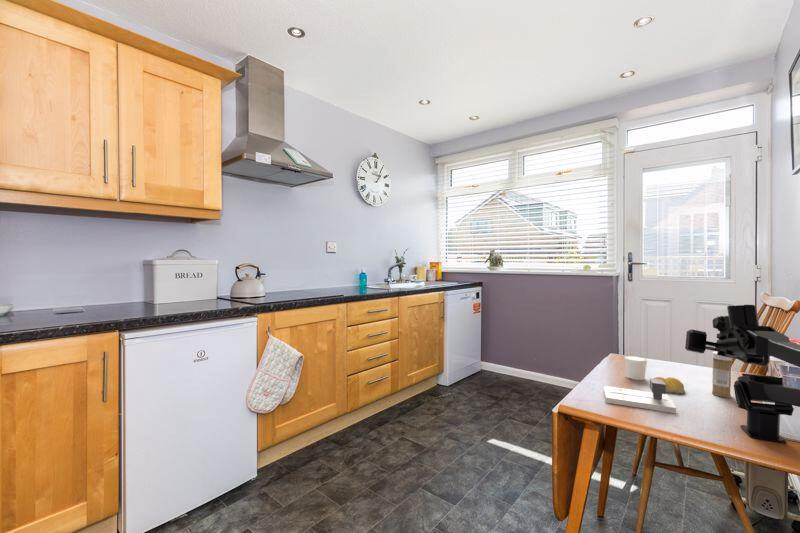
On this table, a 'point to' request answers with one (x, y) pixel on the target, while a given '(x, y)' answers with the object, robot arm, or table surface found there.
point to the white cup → (635, 367)
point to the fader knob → (657, 388)
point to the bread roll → (672, 385)
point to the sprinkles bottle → (721, 375)
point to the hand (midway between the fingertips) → (711, 349)
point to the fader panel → (638, 399)
